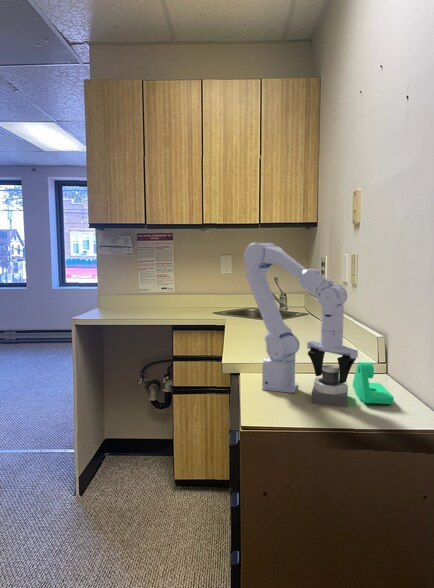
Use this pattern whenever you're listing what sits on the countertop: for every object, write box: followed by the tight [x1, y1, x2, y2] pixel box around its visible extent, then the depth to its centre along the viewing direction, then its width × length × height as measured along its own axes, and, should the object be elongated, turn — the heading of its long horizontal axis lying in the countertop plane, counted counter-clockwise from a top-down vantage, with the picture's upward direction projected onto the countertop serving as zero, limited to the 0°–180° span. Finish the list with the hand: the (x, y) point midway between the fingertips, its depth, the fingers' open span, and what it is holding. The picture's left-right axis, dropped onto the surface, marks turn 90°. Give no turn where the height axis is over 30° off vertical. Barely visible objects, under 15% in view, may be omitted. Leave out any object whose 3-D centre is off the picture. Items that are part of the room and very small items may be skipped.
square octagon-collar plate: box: [311, 376, 349, 408], centre depth 108 cm, size 9×9×5 cm
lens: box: [321, 364, 340, 386], centre depth 108 cm, size 5×5×6 cm
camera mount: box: [352, 361, 394, 405], centre depth 108 cm, size 12×8×10 cm, turn 175°
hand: (330, 378), depth 108 cm, fingers open, 7 cm apart
